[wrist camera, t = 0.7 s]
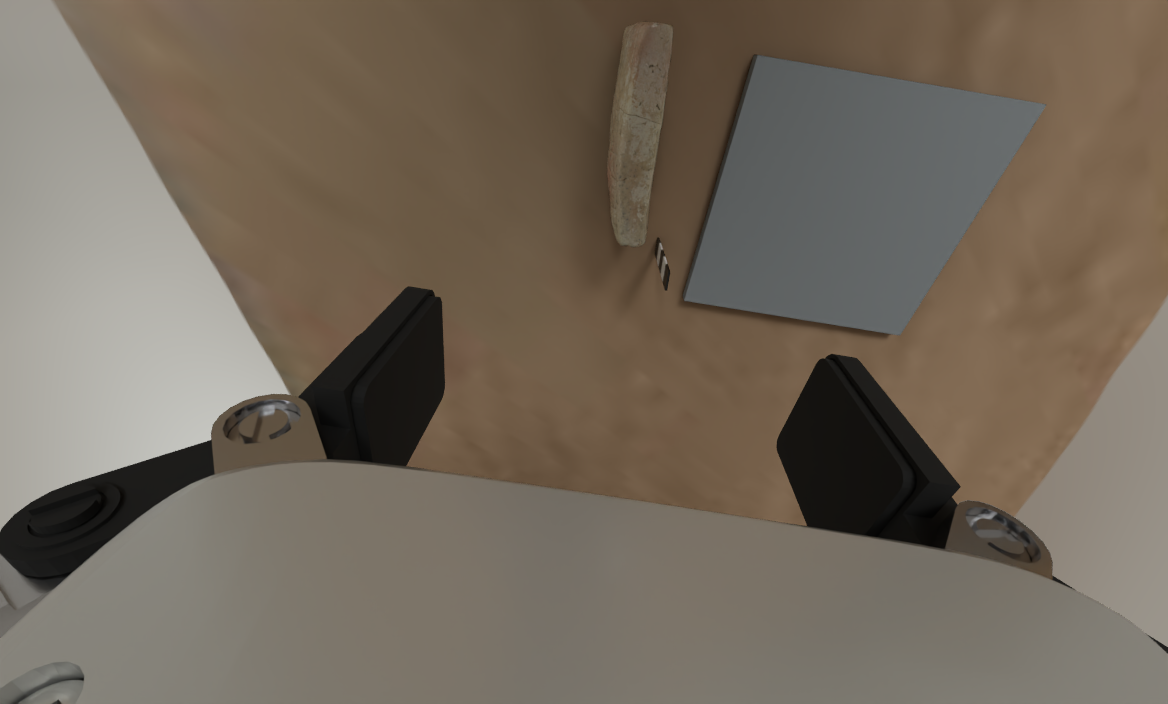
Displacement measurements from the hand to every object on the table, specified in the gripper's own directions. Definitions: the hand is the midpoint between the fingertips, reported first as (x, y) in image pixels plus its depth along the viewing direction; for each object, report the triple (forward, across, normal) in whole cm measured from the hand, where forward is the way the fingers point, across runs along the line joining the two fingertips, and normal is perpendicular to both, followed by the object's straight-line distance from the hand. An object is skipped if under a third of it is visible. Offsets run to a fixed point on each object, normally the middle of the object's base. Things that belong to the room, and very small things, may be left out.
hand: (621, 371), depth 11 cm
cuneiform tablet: (+20, -1, -2) cm, 20 cm away
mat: (+19, -13, -1) cm, 23 cm away
